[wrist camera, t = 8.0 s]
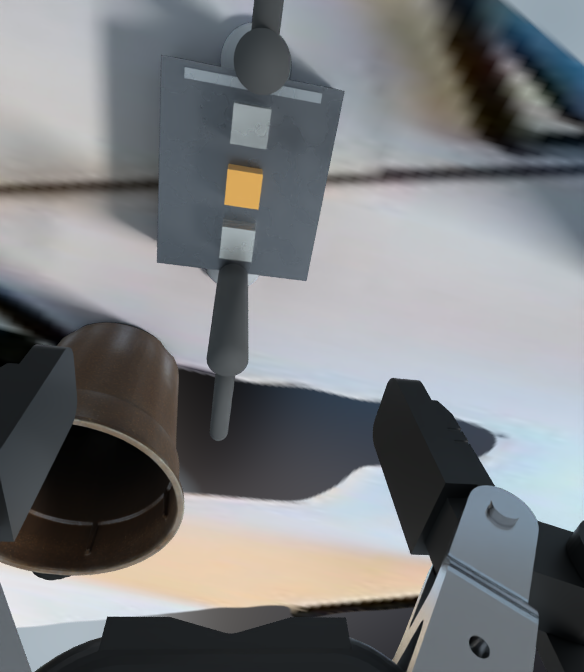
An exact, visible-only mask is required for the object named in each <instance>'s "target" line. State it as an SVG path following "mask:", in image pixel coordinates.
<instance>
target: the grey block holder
mask: <svg viewBox="0 0 584 672" xmlns="http://www.w3.org/2000/svg"><path fill="white" fill-rule="evenodd" d="M343 96H344V91H342V90H338V89H333V88H328V87H323V86H318V85H313V84H307V83H302V82H297V81H292V80H287V81H286V82H285V84H284V85H283V86H282V87H281V88H280V89H279V90H278V91H276V92H274V93H272V94H268V95H258V94H255V93H252V92H250V91H249V90H247V89H246V88H245V87H244V86H243V85H242V84H241V82H240V81H239V79H238V77H237V75H236V72H235V69H230V68H225V67H221V66H215V65H210V64H205V63H200V62H195V61H190V60H185V59H180V58H174V57H169V56H163V55H161V98H160V145H159V192H158V239H157V263H165V264H173V265H181V266H189V267H197V268H205V269H213V270H221V268H222V267H224V266H225V265H228V264H237V265H240V266H241V267H243V268H244V269H245V270H246V272H247V274H254V275H262V276H270V277H278V278H286V279H294V280H302V281H306V280H307V275H308V270H309V265H310V260H311V255H312V250H313V245H314V240H315V235H316V230H317V225H318V220H319V215H320V211H321V206H322V201H323V196H324V191H325V186H326V181H327V176H328V171H329V166H330V161H331V156H332V151H333V146H334V141H335V136H336V131H337V126H338V121H339V116H340V111H341V106H342V101H343ZM229 164H234V165H240V166H246V167H252V168H258V169H262V171H263V179H262V187H261V194H260V202H259V209H258V210H257V209H250V208H243V207H236V206H230V205H224V203H225V192H226V181H227V171H228V165H229Z"/></svg>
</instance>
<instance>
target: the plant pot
mask: <svg viewBox="0 0 584 672" xmlns="http://www.w3.org/2000/svg"><path fill="white" fill-rule="evenodd" d="M57 346H60V347H70V348H71V349H72V351H73V355H74V366H75V378H76V390H77V409H76V414H75V418H74V421H73V424H72V426H71V428H70V430H69V432H68V434H67V436H66V438H65V440H64V442H63V444H62V446H61V448H60V450H59V452H58V454H57V456H56V458H55V460H54V462H53V464H52V466H51V468H50V470H49V472H48V474H47V476H46V478H45V480H44V483H43V485H42V487H41V489H40V491H39V493H38V495H37V497H36V499H35V501H34V503H33V505H32V507H31V509H30V511H29V513H28V515H27V517H26V519H25V521H24V523H23V525H22V527H21V529H20V531H19V533H18V535H17V537H16V539H15V541H14V542H2V541H0V562H1V563H4V564H7V565H10V566H13V567H16V568H20V569H24V570H28V571H32V572H39V573H48V574H58V575H72V576H74V575H93V574H100V573H106V572H111V571H116V570H119V569H123V568H126V567H129V566H132V565H134V564H137V563H139V562H141V561H144V560H145V559H147V558H149V557H151V556H152V555H154V554H155V553H157V552H158V551H160V550H161V549H162V548H163V547H165V546H166V545H167V544H168V543H169V541H170V540H171V539H172V538H173V537H174V535H175V534H176V532H177V531H178V529H179V526H180V524H181V522H182V518H183V514H184V495H183V490H182V486H181V483H180V481H179V458H178V454H177V451H176V425H177V404H178V403H177V402H178V384H179V375H178V367H177V365H176V362H175V360H174V357H173V356H171V355H170V354H169V353H168V352H167V350H166V349H165V348H164V346H163V345H162V343H161V342H160V341H159V340H158V339H157V338H155V337H154V336H152V335H151V334H149V333H147V332H145V331H143V330H141V329H138V328H135V327H132V326H129V325H124V324H118V323H95V324H90V325H86V326H83V327H82V328H80V329H78V330H77V331H75V332H72V333H71V334H69V335H67V336H65V337H64V338H63V339H62V340H61V341H60V342H59V343H58V345H57Z"/></svg>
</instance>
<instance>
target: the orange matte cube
mask: <svg viewBox="0 0 584 672" xmlns="http://www.w3.org/2000/svg"><path fill="white" fill-rule="evenodd" d="M262 179H263V171H262V169H258V168H252V167H246V166H240V165H234V164H229V165H228V171H227V181H226V192H225V203H224V205H230V206H236V207H243V208H250V209H257V210H258V209H259V202H260V194H261V187H262Z"/></svg>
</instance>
